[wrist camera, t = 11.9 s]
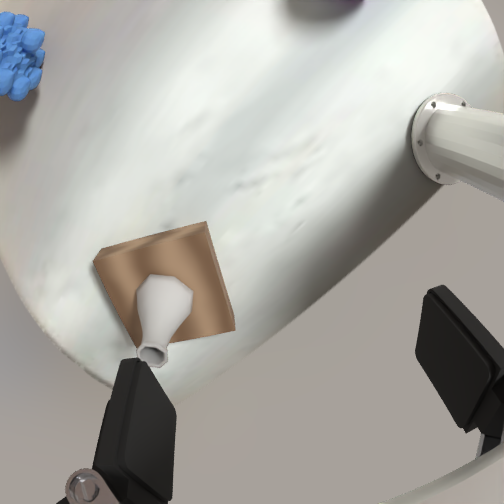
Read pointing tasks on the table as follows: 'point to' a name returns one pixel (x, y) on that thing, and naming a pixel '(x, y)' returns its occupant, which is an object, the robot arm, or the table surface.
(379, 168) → the table surface
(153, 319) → the flask
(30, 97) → the table surface
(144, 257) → the flat wooden block
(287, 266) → the table surface
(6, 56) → the grapes
